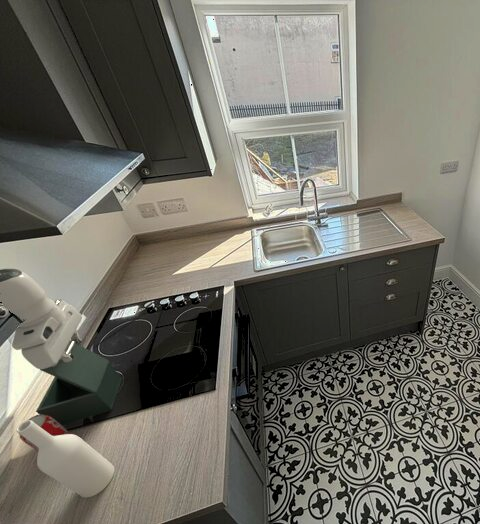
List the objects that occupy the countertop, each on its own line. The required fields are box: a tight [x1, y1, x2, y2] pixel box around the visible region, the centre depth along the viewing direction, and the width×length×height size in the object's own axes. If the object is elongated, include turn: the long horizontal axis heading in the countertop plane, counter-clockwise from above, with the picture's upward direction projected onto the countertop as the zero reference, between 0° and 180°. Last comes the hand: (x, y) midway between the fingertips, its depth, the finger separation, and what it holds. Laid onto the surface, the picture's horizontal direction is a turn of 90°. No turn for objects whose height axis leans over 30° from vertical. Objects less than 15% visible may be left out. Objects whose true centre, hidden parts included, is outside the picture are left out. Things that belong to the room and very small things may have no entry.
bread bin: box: [35, 362, 123, 427], centre depth 97 cm, size 16×13×10 cm
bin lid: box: [39, 339, 110, 394], centre depth 91 cm, size 16×13×5 cm
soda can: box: [18, 414, 71, 452], centre depth 85 cm, size 7×7×12 cm
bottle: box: [16, 419, 115, 498], centre depth 72 cm, size 8×8×30 cm
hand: (74, 351), depth 88 cm, fingers closed on bin lid, 5 cm apart
